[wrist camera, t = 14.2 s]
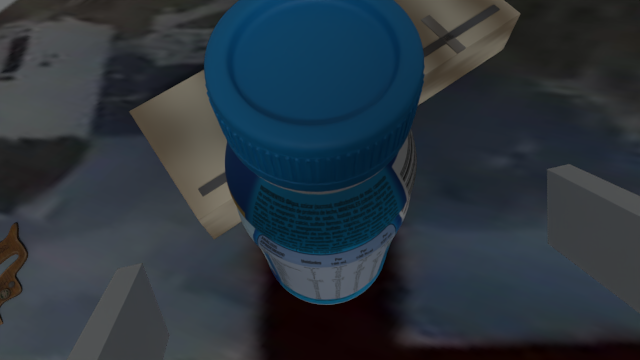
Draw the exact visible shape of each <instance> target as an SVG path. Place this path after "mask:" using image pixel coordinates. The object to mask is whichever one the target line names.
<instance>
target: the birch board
mask: <svg viewBox="0 0 640 360" xmlns="http://www.w3.org/2000/svg"><path fill="white" fill-rule="evenodd" d="M394 1H395V2H396V3H397V4H399V5H400V6H401V7H402V8H403V10H404V11H405V12H406V13H407V14H408V16H409V17H410V19H411V20H412V22H413V23H414V25H415V27H416V29H417V31H418V33H419V36H420V39H421V42H422V46H423V52H424V65H425V68H424V72H423V73H424V74H425V76H424V79H423V80H424V84H423V87H422V92H421V96H420V99H419V103H418V105H419V104H421V103H422V102H424V101H425V100H427V99H428V98H430V97H431V96H433V95H435V94H436V93H438V92H439V91H441V90H442V89H444V88H445V87H447V86H448V85H450V84H451V83H453V82H454V81H456V80H457V79H459V78H460V77H462V76H463V75H465V74H466V73H468V72H470V71H471V70H473V69H474V68H476V67H477V66H479V65H480V64H482V63H483V62H485V61H486V60H488V59H489V58H491V57H492V56H494V55H495V54H497V53H498V52H500V51H501V50H503V48H504V46H505V44H506V42H507V40H508V38H509V36H510V34H511V32H512V30H513V28H514V26H515V24H516V22H517V20H518V18H519V15H520V13H519V12H518V11H517V10H515V9H514V8H513V7H512V6H510V5H509V4H508V3H507V2H505V1H504V0H394ZM205 84H206V81H205V74H204V70H203V71H201V72H199V73H197V74H195V75H194V76H192V77H190V78H188V79H186V80H185V81H183V82H181V83H179V84H177V85H176V86H174V87H172V88H170V89H169V90H167V91H165V92H163V93H161V94H160V95H158V96H156V97H154V98H152V99H151V100H149V101H147V102H145V103H144V104H142V105H140V106H138V107H136V108H135V109H133V110H131V111H129V112H130V113H131V115H132V117H133V118H134V120H135V121H136V123H137V124H138V126H139V128H140V129H141V131H142V132H143V134H144V135H145V137H146V139H147V140H148V142H149V143H150V145H151V146H152V148H153V150H154V151H155V153H156V154H157V156H158V157H159V159H160V160H161V162H162V164H163V165H164V167H165V168H166V170H167V171H168V173H169V175H170V176H171V178H172V179H173V181H174V182H175V184H176V186H177V187H178V189H179V190H180V192H181V193H182V195H183V197H184V198H185V200H186V201H187V203H188V204H189V206H190V207H191V209H192V211H193V212H194V214H195V215H196V217H197V218H198V220H199V221H200V222H201V224H202V225H203V226H204V227H205V229H206V230H207V231H208V232H209V234H210V235H211V236H212V237H213V239H216V238H217V237H219V236H220V235H222V234H223V233H225V232H226V231H228V230H229V229H231V228H232V227H234V226H235V225H237V224H238V223H240V222H241V219H240V216H239V213H238V210H237V206H236V204H235V203H234V201H233V199H232V196H231V194H230V191H229V188H228V185H227V180H226V174H225V151H226V145H227V140H226V137H225V135H224V134H223V132H222V129H221V127H220V125H219V122H218V120H217V118H216V116H215V113H214V111H213V109H212V106H211V104H210V102H209V97H208V95H207V88H206V86H205Z"/></svg>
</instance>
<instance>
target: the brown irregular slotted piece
mask: <svg viewBox="0 0 640 360" xmlns="http://www.w3.org/2000/svg"><path fill="white" fill-rule="evenodd" d="M18 232H19V228H18V223H14V224H13V225H12V226H11V229H10V231H9V234H8V236H7V237H6V238H5V239H4V240H3V241H2V242H0V264H1V263H2V262H4V261H5V260H6V259H8V258H9V257H11V256H12V255H15V254H18V255H19V257H18V259H17V260H16V261H15V262H14V263H13V264H12V265H10V266H9V267H8V268H7V269H6V270H5V271H4V272H3V273H2V274H1V276H0V307H1V305H2V304H3V303H4V302H6V301H7V300H9V299H11V298H13V297H15V296H17V295H19V294H20V293H21V292H22V287H21V285H20V283H19V282H18V280H17V278H16V274H17V272H18V271H19V270H20V268H21V267H22V266H23V264H24V263H25V261H26V260H27V258H28V253H27V250H26V249H25V247H24V246H23V245H22V243H21V242H20V241H19V238H18ZM1 324H3V321H2V319H1V316H0V325H1Z"/></svg>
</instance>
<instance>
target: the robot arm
mask: <svg viewBox="0 0 640 360" xmlns="http://www.w3.org/2000/svg"><path fill="white" fill-rule="evenodd" d="M547 209H548V244H549V245H551V246H552V247H553V248H555V249H556V250H557V251H559V252H560V253H561V254H562V255H564V256H565V257H566V258H568V259H569V260H570V261H572V262H573V263H574V264H576V265H577V266H578V267H580V268H581V269H582V270H584V271H585V272H586V273H587V274H589V275H590V276H591V277H593V278H594V279H595V280H597V281H598V282H599V283H601V284H602V285H603V286H605V287H606V288H607V289H609V290H610V291H611V292H612V293H614V294H615V295H616V296H618V297H619V298H620V299H622V300H623V301H624V302H626V303H627V304H628V305H630V306H631V307H632V308H633V309H635V310H636V311H637V312H639V313H640V196H638V195H636V194H634V193H631V192H629V191H627V190H625V189H623V188H620V187H618V186H616V185H614V184H612V183H609V182H607V181H605V180H603V179H601V178H599V177H596V176H594V175H592V174H590V173H588V172H585V171H583V170H581V169H579V168H577V167H574V166H572V165H570V164H568V165H563V166H559V167H555V168H550V169H547ZM168 339H169V333H168V330H167V327H166V325H165V322H164V319H163V317H162V314H161V311H160V309H159V306H158V303H157V301H156V298H155V295H154V293H153V290H152V287H151V285H150V282H149V279H148V277H147V274H146V271H145V269H144V266H143V263H140V264H136V265H132V266H127V267H123V268H119V269H117V270H116V272H115V274H114V276H113V277H112V279H111V281H110V283H109V285H108V286H107V288H106V290H105V292H104V294H103V295H102V297H101V299H100V301H99V303H98V304H97V306H96V308H95V310H94V312H93V313H92V315H91V317H90V319H89V321H88V322H87V324H86V326H85V328H84V330H83V331H82V333H81V335H80V337H79V339H78V340H77V342H76V344H75V346H74V348H73V349H72V351H71V353H70V355H69V357H68V358H67V360H163V357H164V353H165V350H166V346H167V342H168Z"/></svg>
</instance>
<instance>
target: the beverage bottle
mask: <svg viewBox="0 0 640 360" xmlns="http://www.w3.org/2000/svg"><path fill="white" fill-rule="evenodd" d="M424 68H425V65H424V52H423V46H422V42H421V39H420V36H419V33H418V31H417V29H416V27H415V25H414V23H413V22H412V20H411V19H410V17H409V16H408V14H407V13H406V12H405V11H404V10H403V8H402V7H401V6H400V5H399V4H397V3H396V2H395V1H394V0H239V1H238V2H236V3H235V4H234V5H233V6H232V7H231V8H230V9H229V10H228V11H227V12H226V13H225V14H224V15H223V16H222V18H221V19H220V20H219V22H218V23H217V25H216V27H215V28H214V30H213V32H212V34H211V36H210V39H209V41H208V44H207V48H206V53H205V59H204V74H205V81H206V84H205V86H206V88H207V95H208V97H209V102H210V104H211V106H212V109H213V111H214V113H215V116H216V118H217V120H218V122H219V125H220V127H221V129H222V132H223V134H224V135H225V137H226V140H227V145H226V151H225V174H226V180H227V185H228V188H229V191H230V194H231V196H232V199H233V201H234V203H235V204H236V206H237V210H238V213H239V216H240V219H241V221H242V223H243V225H244V227H245V229H246V231H247V232H248V234H249V235H250V237H251V238H252V239H253V241H254V242H255V243H256V244H257V245H258V246H259V247H260V248H261V250H262V252H263V253H264V255H265V257H266V259H267V261H268V264H269V266H270V268H271V270H272V272H273V274H274V276H275V277H276V279H277V280H278V282H279V283H280V284H281V285H282V286H283V287H284V288H285V289H286V290H287V291H288V292H290V293H291V294H292V295H294V296H296V297H298V298H300V299H302V300H304V301H307V302H310V303H315V304H324V305H329V304H337V303H342V302H345V301H348V300H351V299H353V298H355V297H357V296H358V295H360V294H361V293H363V292H364V291H365V290H366V289H368V288H369V287H370V286H371V285H372V283H373V282H374V281H375V280H376V278H377V277H378V275H379V273H380V271H381V269H382V267H383V264H384V261H385V258H386V254H387V251H388V249H389V246H390V243H391V241H392V239H393V237H394V236H395V234H396V233H397V231H398V230H399V228H400V226H401V224H402V222H403V220H404V217H405V215H406V212H407V208H408V204H409V199H410V194H411V191H412V188H413V185H414V181H415V176H416V168H417V156H416V148H415V142H414V138H413V135H412V131H411V125H412V123H413V119H414V117H415V113H416V110H417V106H418V103H419V99H420V96H421V92H422V87H423V84H424V80H423V79H424V76H425V74H424V73H423V72H424Z"/></svg>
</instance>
